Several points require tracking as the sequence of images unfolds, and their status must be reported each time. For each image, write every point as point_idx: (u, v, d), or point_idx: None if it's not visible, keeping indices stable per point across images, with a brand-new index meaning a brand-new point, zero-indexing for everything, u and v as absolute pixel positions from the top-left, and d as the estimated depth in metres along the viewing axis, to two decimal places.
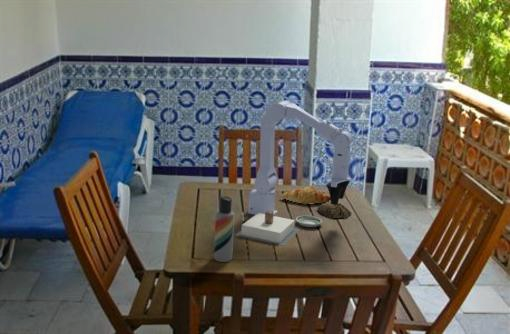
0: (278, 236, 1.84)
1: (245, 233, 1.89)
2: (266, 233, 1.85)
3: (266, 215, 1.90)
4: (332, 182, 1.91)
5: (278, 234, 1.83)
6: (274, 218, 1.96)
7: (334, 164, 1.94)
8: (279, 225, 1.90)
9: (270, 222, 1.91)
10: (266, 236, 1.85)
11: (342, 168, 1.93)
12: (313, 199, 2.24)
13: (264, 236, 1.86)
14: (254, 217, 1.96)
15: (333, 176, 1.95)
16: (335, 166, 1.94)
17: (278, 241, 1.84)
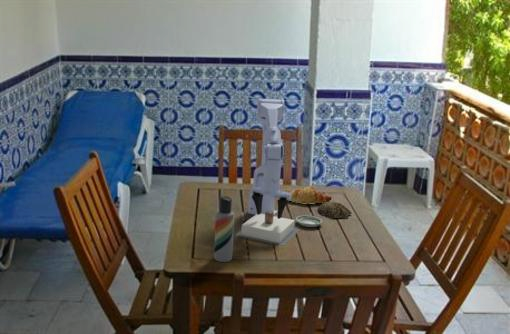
0: (278, 236, 1.84)
1: (245, 233, 1.89)
2: (266, 233, 1.85)
3: (266, 215, 1.90)
4: None
5: (278, 234, 1.83)
6: (274, 218, 1.96)
7: None
8: (279, 225, 1.90)
9: (270, 222, 1.91)
10: (266, 236, 1.85)
11: (263, 179, 1.88)
12: (313, 199, 2.24)
13: (264, 236, 1.86)
14: (254, 217, 1.96)
15: None
16: None
17: (278, 241, 1.84)
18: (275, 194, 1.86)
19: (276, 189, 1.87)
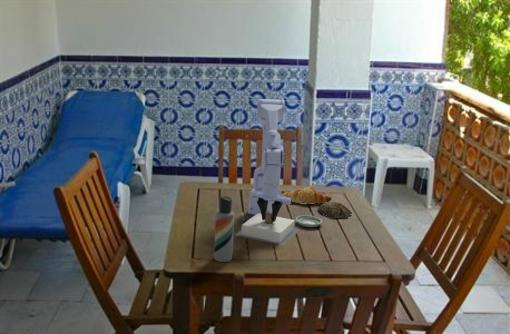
0: (278, 236, 1.84)
1: (245, 233, 1.89)
2: (266, 233, 1.85)
3: (266, 215, 1.90)
4: None
5: (278, 234, 1.83)
6: None
7: None
8: (279, 225, 1.90)
9: (270, 222, 1.91)
10: (266, 236, 1.85)
11: (263, 184, 1.88)
12: (312, 199, 2.24)
13: (264, 236, 1.86)
14: (254, 217, 1.96)
15: None
16: None
17: (278, 241, 1.84)
18: (275, 199, 1.87)
19: (276, 194, 1.87)
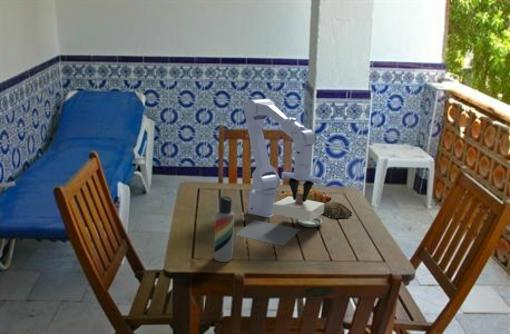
0: (308, 215, 1.88)
1: (276, 212, 1.94)
2: (296, 211, 1.90)
3: (297, 196, 1.96)
4: None
5: (308, 212, 1.88)
6: None
7: None
8: (309, 206, 1.95)
9: (300, 203, 1.96)
10: (296, 215, 1.90)
11: None
12: (312, 199, 2.24)
13: (294, 215, 1.91)
14: (285, 199, 2.02)
15: None
16: None
17: (308, 220, 1.89)
18: (306, 179, 1.92)
19: (307, 174, 1.92)
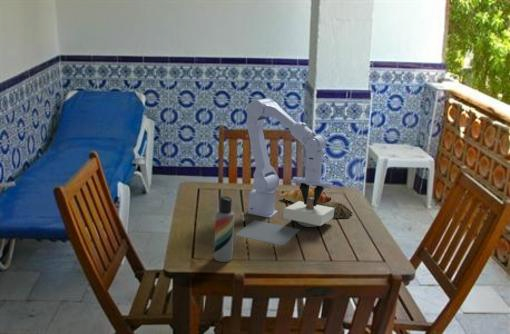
0: (319, 219, 1.92)
1: (287, 216, 1.97)
2: (307, 216, 1.94)
3: (308, 200, 1.99)
4: None
5: (319, 217, 1.92)
6: None
7: (306, 167, 1.96)
8: (320, 210, 1.98)
9: (311, 207, 1.99)
10: (308, 219, 1.94)
11: (305, 169, 1.97)
12: None
13: (305, 219, 1.94)
14: (295, 203, 2.05)
15: None
16: None
17: (319, 224, 1.92)
18: (317, 184, 1.95)
19: (318, 179, 1.96)
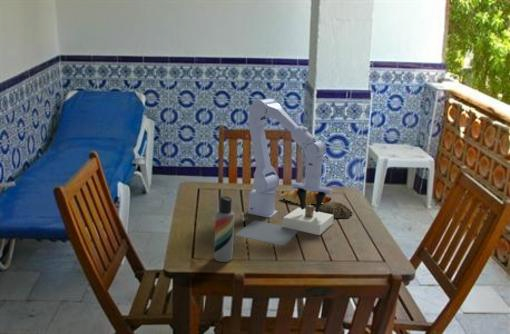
0: (318, 228, 1.92)
1: (286, 225, 1.98)
2: (306, 225, 1.94)
3: (307, 209, 1.99)
4: (293, 183, 2.02)
5: (318, 226, 1.92)
6: (314, 212, 2.05)
7: (306, 173, 1.96)
8: (319, 219, 1.99)
9: (310, 215, 2.00)
10: (307, 228, 1.94)
11: (305, 175, 1.97)
12: (312, 200, 2.24)
13: (305, 228, 1.95)
14: (295, 211, 2.05)
15: None
16: None
17: (318, 233, 1.93)
18: (317, 189, 1.96)
19: (318, 185, 1.96)
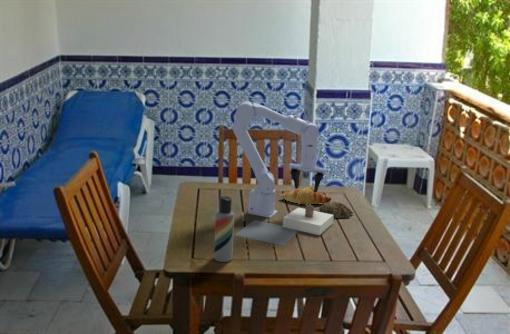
0: (318, 228, 1.92)
1: (286, 225, 1.98)
2: (306, 225, 1.94)
3: (307, 209, 1.99)
4: (290, 164, 2.11)
5: (318, 226, 1.92)
6: (314, 212, 2.05)
7: (305, 155, 2.04)
8: (319, 219, 1.99)
9: (310, 215, 2.00)
10: (307, 228, 1.94)
11: (301, 156, 2.06)
12: (312, 200, 2.23)
13: (305, 228, 1.95)
14: (295, 211, 2.05)
15: None
16: None
17: (318, 233, 1.93)
18: (312, 169, 2.04)
19: (313, 165, 2.05)
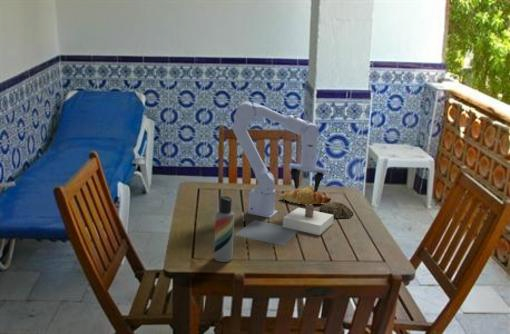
0: (318, 228, 1.92)
1: (286, 225, 1.98)
2: (306, 225, 1.94)
3: (307, 209, 1.99)
4: (290, 164, 2.11)
5: (318, 226, 1.92)
6: (314, 212, 2.05)
7: (304, 155, 2.04)
8: (319, 219, 1.99)
9: (310, 215, 2.00)
10: (307, 228, 1.94)
11: (301, 156, 2.06)
12: (311, 200, 2.23)
13: (305, 228, 1.95)
14: (295, 211, 2.05)
15: None
16: None
17: (318, 233, 1.93)
18: (312, 169, 2.04)
19: (313, 165, 2.05)
